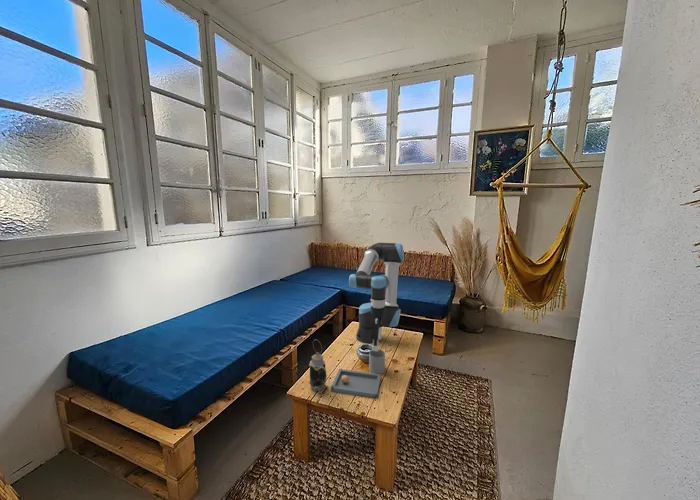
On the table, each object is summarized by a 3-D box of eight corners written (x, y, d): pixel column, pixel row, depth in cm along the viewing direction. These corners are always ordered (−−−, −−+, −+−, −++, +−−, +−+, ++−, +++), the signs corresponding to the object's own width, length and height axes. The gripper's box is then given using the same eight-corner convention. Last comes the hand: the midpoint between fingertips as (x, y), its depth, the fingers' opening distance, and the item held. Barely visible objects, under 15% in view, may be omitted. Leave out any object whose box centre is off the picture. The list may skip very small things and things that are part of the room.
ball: (342, 379, 145) (342, 373, 144) (349, 380, 144) (349, 374, 143) (340, 384, 141) (340, 377, 141) (347, 385, 140) (347, 378, 140)
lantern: (306, 387, 140) (304, 339, 135) (318, 379, 145) (318, 333, 141) (317, 395, 134) (316, 345, 130) (330, 387, 139) (329, 339, 135)
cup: (383, 375, 149) (384, 358, 147) (368, 373, 151) (368, 356, 149) (385, 366, 157) (385, 350, 156) (370, 365, 159) (370, 348, 157)
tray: (339, 372, 151) (339, 368, 151) (380, 378, 147) (380, 374, 146) (330, 392, 136) (330, 387, 136) (376, 399, 131) (376, 394, 131)
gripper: (374, 298, 161) (373, 333, 164) (366, 314, 137) (366, 355, 140) (387, 299, 159) (386, 335, 162) (382, 315, 135) (381, 357, 138)
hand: (377, 344), depth 151 cm, fingers open, 13 cm apart
